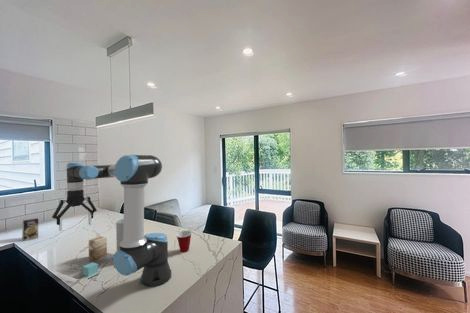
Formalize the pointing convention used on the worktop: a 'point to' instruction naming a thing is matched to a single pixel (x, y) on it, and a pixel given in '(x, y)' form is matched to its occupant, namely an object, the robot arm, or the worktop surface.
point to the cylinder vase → (119, 232)
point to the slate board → (99, 262)
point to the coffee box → (30, 229)
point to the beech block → (97, 243)
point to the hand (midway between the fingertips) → (75, 227)
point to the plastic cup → (184, 240)
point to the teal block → (90, 269)
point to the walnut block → (98, 254)
